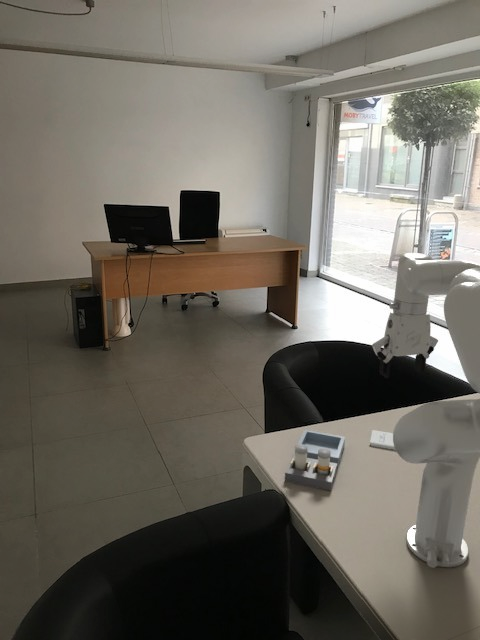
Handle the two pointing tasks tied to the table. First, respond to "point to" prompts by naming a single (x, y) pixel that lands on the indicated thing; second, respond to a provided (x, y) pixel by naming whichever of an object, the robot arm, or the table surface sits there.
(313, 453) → the tray
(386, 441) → the external hard drive
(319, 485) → the fuse holder
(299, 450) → the fuse
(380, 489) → the table surface
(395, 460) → the table surface
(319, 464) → the marked fuse
